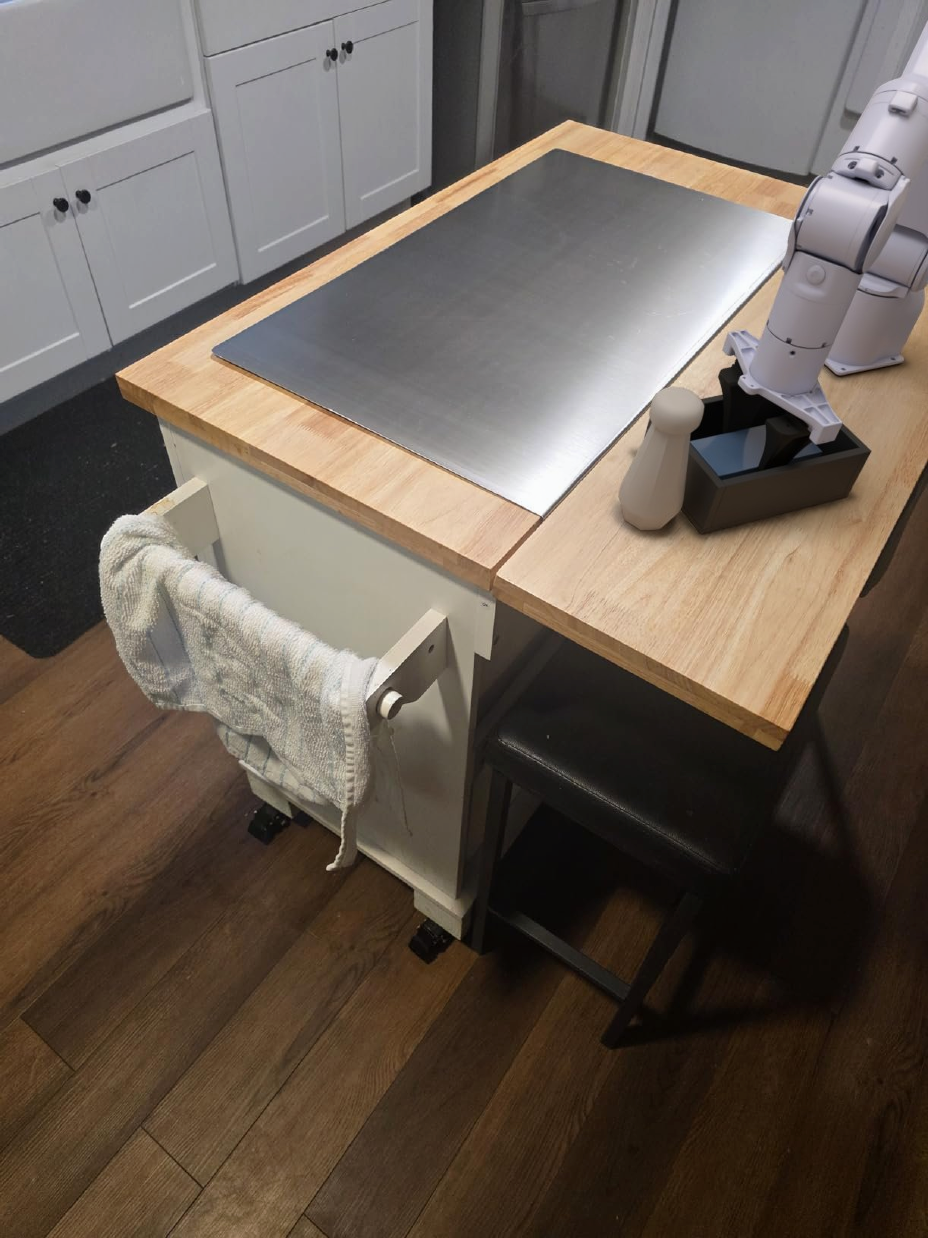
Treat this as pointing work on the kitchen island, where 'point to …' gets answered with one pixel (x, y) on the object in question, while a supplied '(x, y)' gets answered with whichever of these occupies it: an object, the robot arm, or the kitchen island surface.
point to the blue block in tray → (741, 452)
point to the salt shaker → (661, 460)
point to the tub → (766, 476)
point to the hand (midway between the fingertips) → (749, 457)
